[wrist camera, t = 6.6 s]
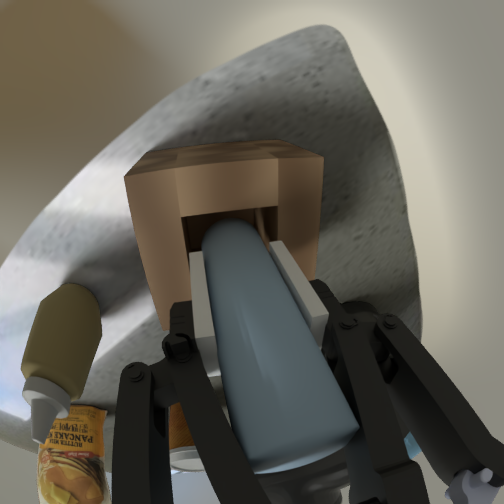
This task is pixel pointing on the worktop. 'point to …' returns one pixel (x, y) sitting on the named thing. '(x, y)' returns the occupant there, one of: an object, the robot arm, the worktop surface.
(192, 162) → the socket block
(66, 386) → the squeeze bottle
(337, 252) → the worktop surface
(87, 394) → the worktop surface
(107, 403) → the worktop surface
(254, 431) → the dowel
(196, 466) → the disposable coffee cup
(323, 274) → the worktop surface
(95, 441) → the pancake mix bag
